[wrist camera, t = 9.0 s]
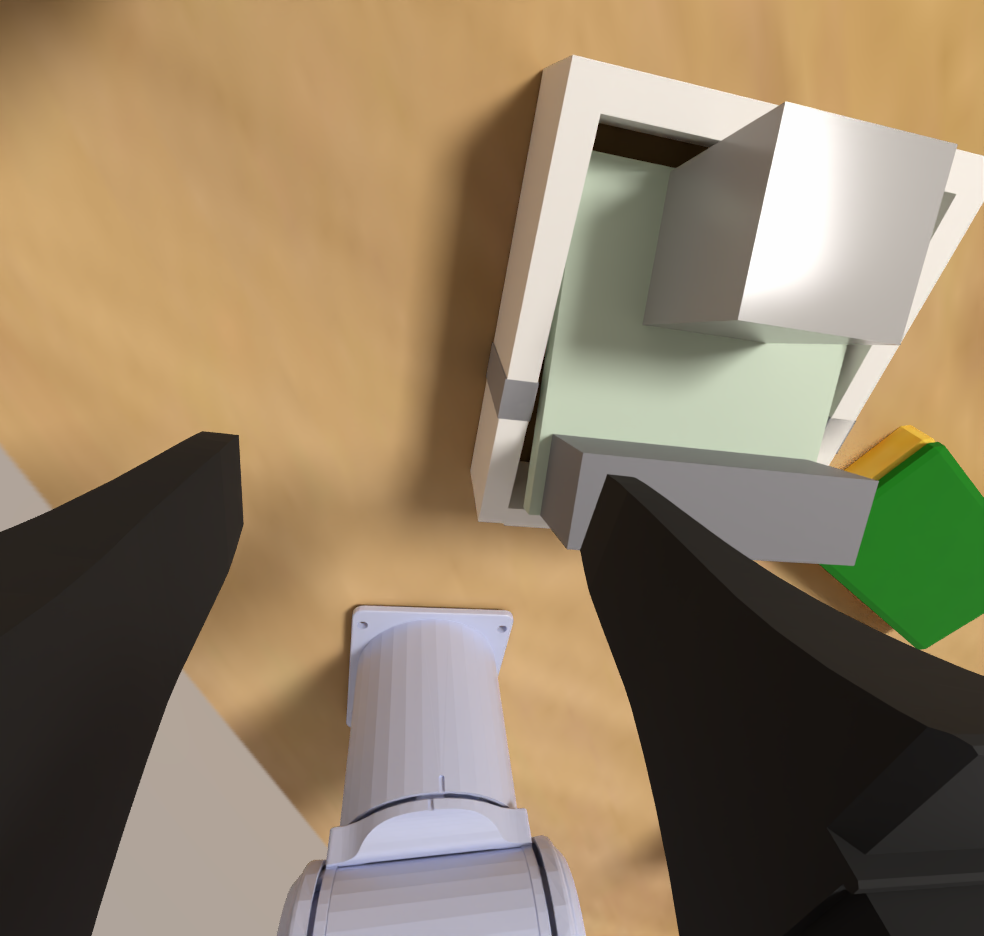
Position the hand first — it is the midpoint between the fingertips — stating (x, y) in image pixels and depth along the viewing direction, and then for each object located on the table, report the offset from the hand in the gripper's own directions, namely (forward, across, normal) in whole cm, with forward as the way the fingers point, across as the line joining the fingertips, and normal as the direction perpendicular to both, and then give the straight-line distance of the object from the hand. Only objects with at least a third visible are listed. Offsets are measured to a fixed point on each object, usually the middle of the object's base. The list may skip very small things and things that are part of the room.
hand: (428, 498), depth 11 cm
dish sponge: (+11, -26, +7) cm, 29 cm away
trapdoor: (+8, -9, -1) cm, 12 cm away
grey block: (+8, -9, -4) cm, 13 cm away
